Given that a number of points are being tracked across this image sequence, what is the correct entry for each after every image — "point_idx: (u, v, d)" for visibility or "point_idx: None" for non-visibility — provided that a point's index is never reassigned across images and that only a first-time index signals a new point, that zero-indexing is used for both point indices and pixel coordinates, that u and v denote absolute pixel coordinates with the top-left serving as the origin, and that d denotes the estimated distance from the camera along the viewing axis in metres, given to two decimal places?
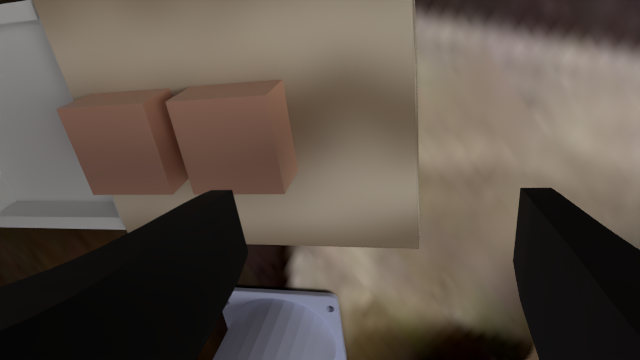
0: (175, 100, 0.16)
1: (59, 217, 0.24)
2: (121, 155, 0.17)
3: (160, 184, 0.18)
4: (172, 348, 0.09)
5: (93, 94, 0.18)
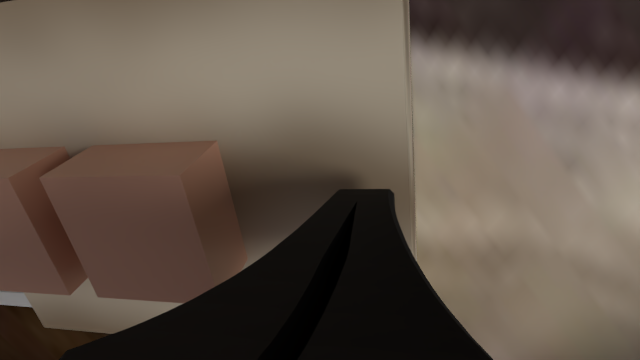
0: (54, 175, 0.11)
1: None
2: None
3: (52, 282, 0.13)
4: None
5: None
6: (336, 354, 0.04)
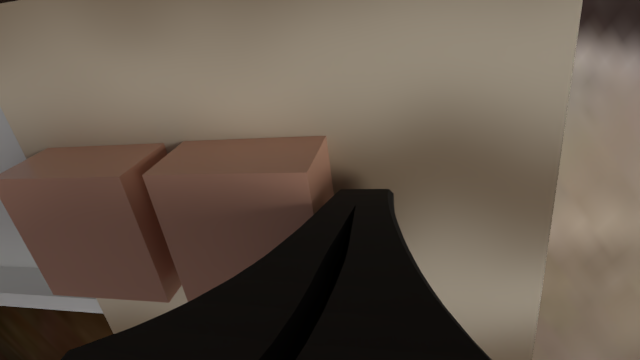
0: (158, 172, 0.10)
1: (21, 294, 0.18)
2: (91, 247, 0.11)
3: (150, 288, 0.12)
4: None
5: (52, 149, 0.13)
6: (335, 354, 0.04)
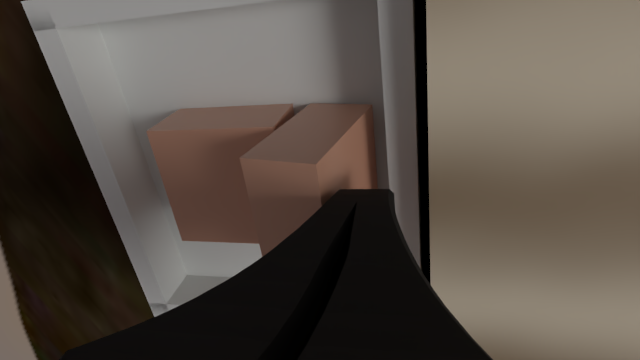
0: (308, 107, 0.13)
1: None
2: None
3: None
4: None
5: (264, 125, 0.12)
6: (336, 354, 0.04)
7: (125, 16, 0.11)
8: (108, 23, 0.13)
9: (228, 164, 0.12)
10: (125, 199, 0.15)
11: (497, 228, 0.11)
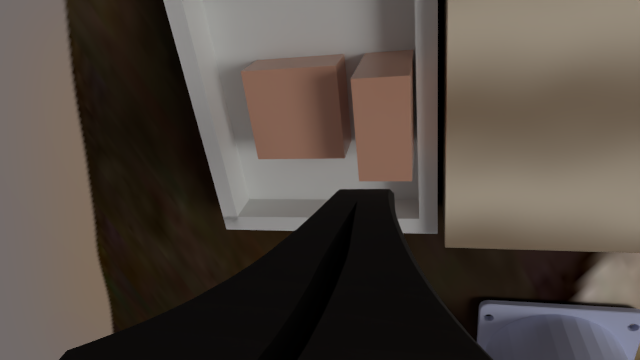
0: (366, 55, 0.18)
1: None
2: None
3: None
4: None
5: (328, 64, 0.17)
6: (336, 354, 0.04)
7: None
8: None
9: (300, 95, 0.17)
10: (215, 128, 0.19)
11: (494, 133, 0.16)
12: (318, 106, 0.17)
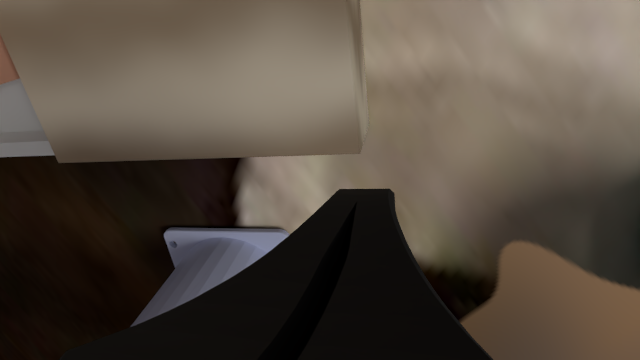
0: None
1: None
2: None
3: None
4: None
5: None
6: (336, 354, 0.04)
7: None
8: None
9: None
10: None
11: (40, 50, 0.18)
12: None
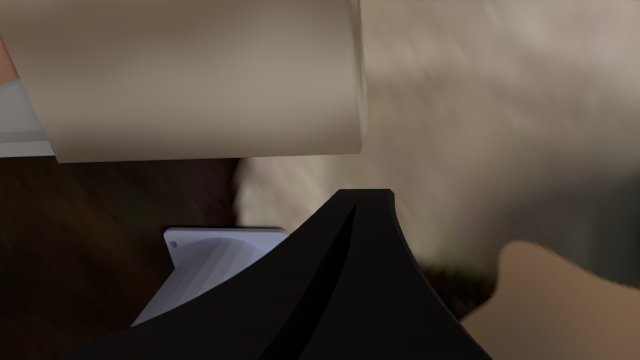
0: None
1: None
2: None
3: None
4: None
5: None
6: (336, 354, 0.04)
7: None
8: None
9: None
10: None
11: (40, 50, 0.18)
12: None
